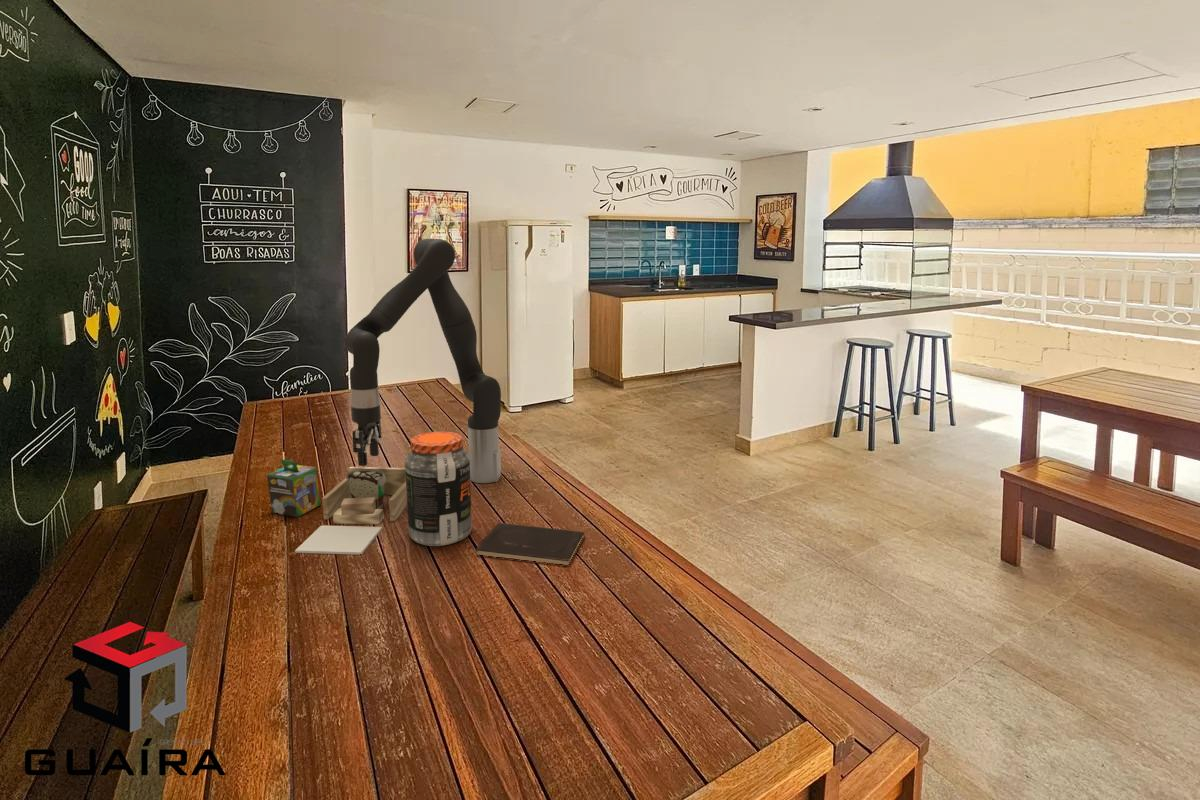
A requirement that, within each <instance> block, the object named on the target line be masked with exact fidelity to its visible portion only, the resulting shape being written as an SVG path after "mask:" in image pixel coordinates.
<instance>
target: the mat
mask: <svg viewBox="0 0 1200 800" xmlns="http://www.w3.org/2000/svg"><path fill="white" fill-rule="evenodd" d="M382 530H383V527H382V526H360V525H359V526H357V525H356V526H355V525H353V526H351V525H323V524H322V525H320V526H319V527H318V528H317V529H315V530H314V532H313V533H312V534H310V535H309V536H308V537H307V538H306V540H304V541H303V542H302V544H300V545H299V546H298V547H297V548H296V549H295V550H294V552H295V554H320V555H321V554H324V555H325V554H326V555H327V554H328V555H329V554H330V555H331V554H332V555H355V556H356V555H358V556H360V554H361V555H362V554H363V553H364V552H365V551H366V550H367V548H368V547H369V546H370V545H371V544H372V542H374V540H375V538H377V536H378V535H379V534H380V532H381V531H382Z"/></svg>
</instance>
